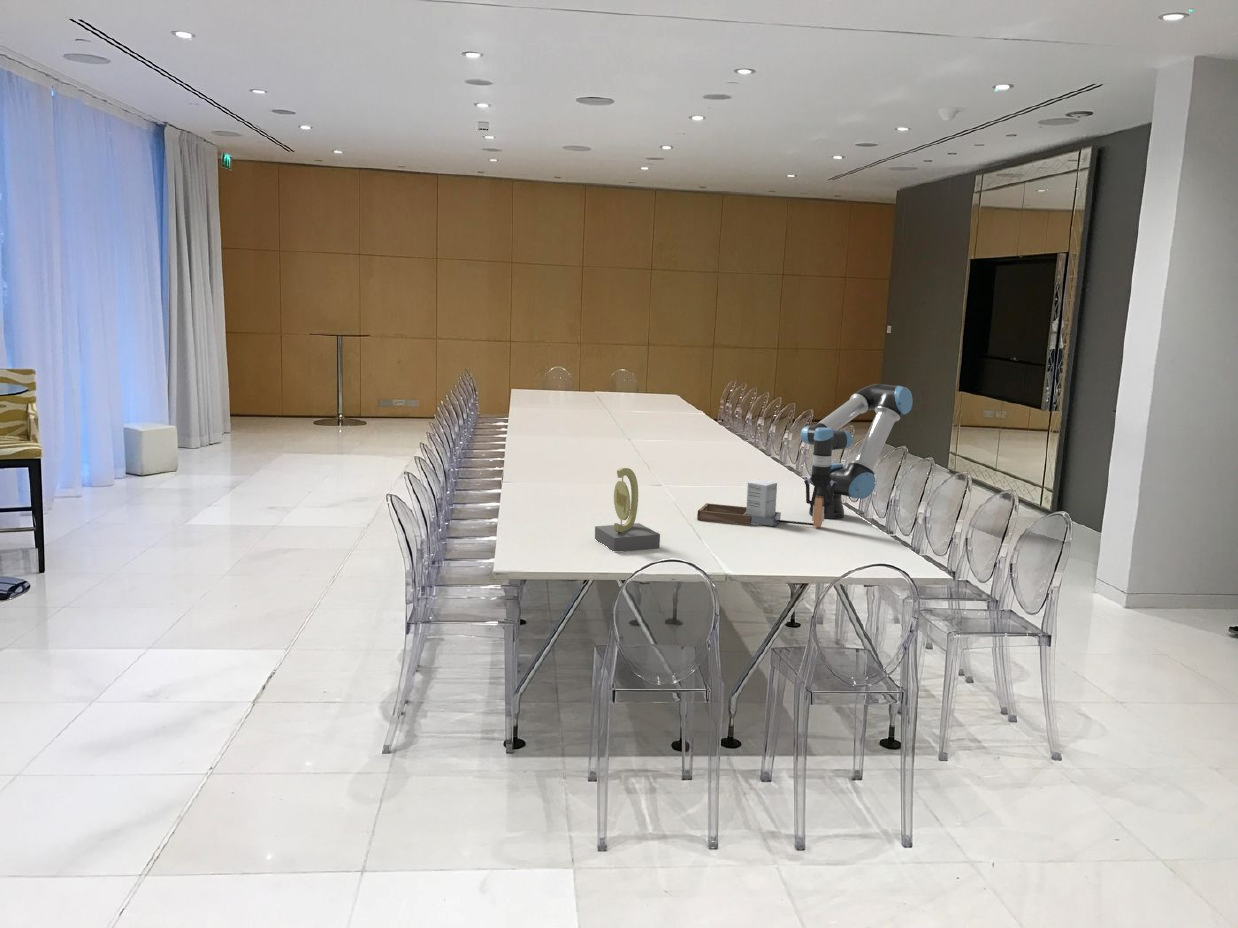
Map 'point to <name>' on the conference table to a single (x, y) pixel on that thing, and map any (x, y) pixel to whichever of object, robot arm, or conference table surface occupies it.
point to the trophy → (630, 532)
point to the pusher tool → (776, 519)
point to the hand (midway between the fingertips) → (817, 520)
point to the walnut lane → (723, 514)
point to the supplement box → (761, 499)
